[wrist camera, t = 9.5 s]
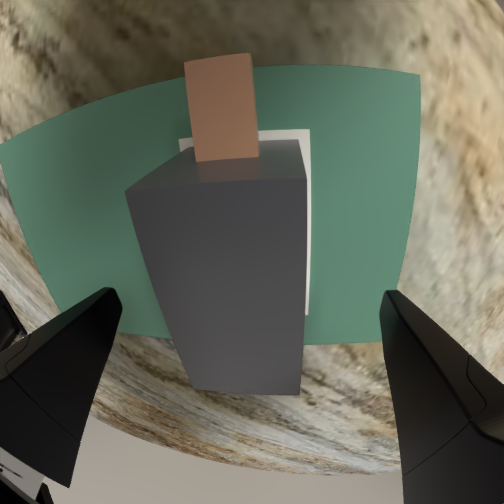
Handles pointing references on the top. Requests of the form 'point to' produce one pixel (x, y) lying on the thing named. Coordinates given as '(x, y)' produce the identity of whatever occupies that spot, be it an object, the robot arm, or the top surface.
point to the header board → (180, 137)
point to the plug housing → (228, 239)
